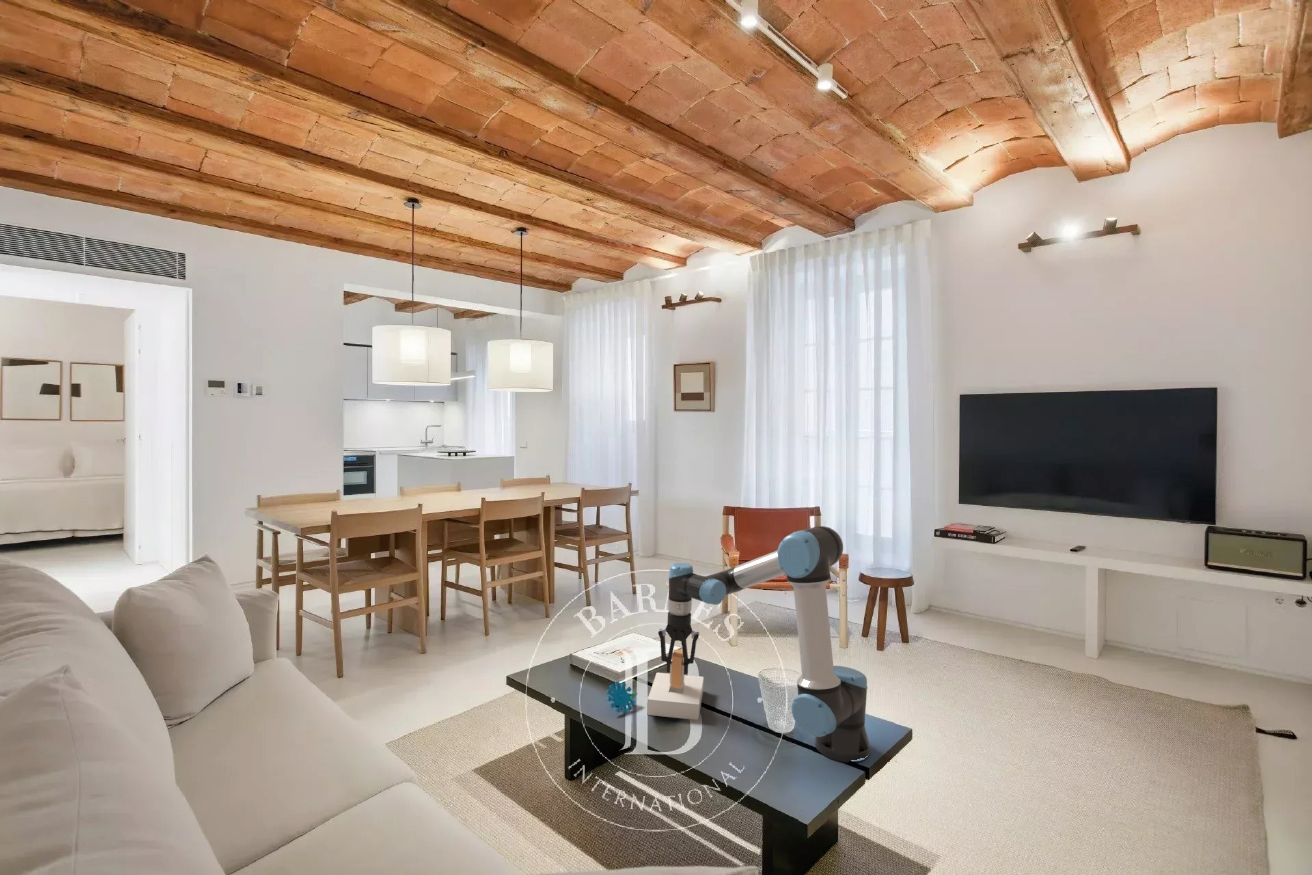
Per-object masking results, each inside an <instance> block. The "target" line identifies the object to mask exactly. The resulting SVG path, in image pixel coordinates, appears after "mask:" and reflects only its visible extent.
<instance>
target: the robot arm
mask: <svg viewBox="0 0 1312 875" xmlns="http://www.w3.org/2000/svg"><path fill="white" fill-rule="evenodd" d="M843 552H844V542H843V540H842V538H841V536H840V535H839V533H838V532H837V531H835V529H833V528H831V527H828V526H824V525H823V526H822V525H821V526H820V525H818V526H817V525H816V526H814V527H810V528H806V529H803V530H796V531H793V532H792V533H790V534H788V535H786V536H785V537H784V538H783V539H782V540H781V542H780V543H779V545H778V547H777V549H776V550H775V551H773V552H769V553H766V554H765V555H761V556H759V557H757V558H754V559H752V560H749V561H747V562H744V563H741V564H739V565H735V566H733V567H731V568H728V569H725V570H722V571H720V572H716V573H713V574H712V573H711V574H709V575H701V574H697V573H694V567H693V565H691V564H689V563H687V562H676V563H672V564H671V565H670V567H669V573H668V597H667V598H668V599H667V600H668V602H667V610H668V612H667V623H666V627H665V628H660V629H659V630H658V632H657V634H658V636H659V639H660V641H659V642H660V656H661V660H660V661H662V662H665V663H666V673H668V674H670V684H671V678H672V656H673V653H674V650H675V649H674V648H675V642H678V641H679V642H680V644H681V648H682V649H681V650H683V663H682V674H681V685H683V684H684V675H688V674H689V665H692V664H694V661H695V656H696V655H695V654H696V649H697V648H696V646H697V642H698V639H699V636H700V632H699V631H694V630H693V628H692V622H691V621H692V613H691V612H692V605H693V604H692V602H693V599H694V600H696V601H700V602H703V603H704V604H707V605H716V606H717V605H720V604H721V603H722V601H725V600H724V599H725V597H726V596H728V595H731V594H734V593H735V594H736V593H738V592H741V591H742V590H745V589H748V588H751V587H754V586H757V585H759V584H762V583H765V582H768V581H771V580H772V579H776V578H779V577H781V576H785V575H786V581H787V583H788V584H790V586H792V587H793V595H794V596H793V597H794V606H795V616H796V627H797V628H796V629H797V639H798V646H799V647H798V648H799V658H800V667H801V675H800V676H799V677H798V678H797V680H796V686H797V688H796V689H797V695H796V696H795V697H794V699H793V700H792V702H791V715H792V717H793V719H794V722H795V723H796V725H797V727H800V728H801V730H802V731H803V732H804V733H806V734H807V735H809V736H811V737H815V739H814V741H815V742H814V745H815V746H814V747H815V748H816V749H817V751H818V752H819V753H820V754H821V755H823V756H825V757H827V758H828V759H831V760H833V761H837V762H842V763H848V762H849V761H851V760H857V759H860V758H865V757H866V756H868V754H869V752H870V750H871V746H870V740H869V737H868V736H869V735H868V734H867V730H866V727H865V726H866V725H865V724H866V722H865V721H866V712H867V711H866V710H867V708H866V707H867V694H868V678H867V676H866V674H864V673H863V672H862V671H860V670H857V669H854V668H851V667H848V666H843V665H834V661H833V648H832V639H831V629H830V617H829V608H828V607H829V606H828V598H827V584H828V583H829V582H831V567H832V566H834V565H835V564H837V563H838V562H839V560H841V558H842V555H843ZM666 635H668V636H669V637H670V644H669V648H668V655H667V648H666ZM690 635H691V639H692V641H691V649H690V658H689V654H688V653H689V652H688V644H687V639H688V638H689V636H690ZM869 755H870V754H869Z"/></svg>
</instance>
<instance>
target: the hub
mask: <svg viewBox="0 0 1312 875" xmlns="http://www.w3.org/2000/svg"><path fill="white" fill-rule="evenodd" d="M704 678H705V676H700V675H699V676H698V675H689V674H684V684H683V685H681V688H675V687H671V684H670V673H667V672H656V674H655V676H654V680H653V682H652V686H651V689H650V692H649V694H648V697H647V703H646V704H647V705H646V706H647V708H646V710H647V711H646V715H647V716H655V717H656V716H657V717H667V718H673V719H685V720H693V721H699V718H700V713H701V706H702V700H703V693H704V681H705V680H704Z"/></svg>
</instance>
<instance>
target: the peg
mask: <svg viewBox="0 0 1312 875" xmlns="http://www.w3.org/2000/svg"><path fill="white" fill-rule="evenodd" d="M671 661H672V678H671V687H675V688H681V674H682V663H683V662H684V659H683V650H682V649H673V654H672V659H671Z"/></svg>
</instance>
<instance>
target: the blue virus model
mask: <svg viewBox="0 0 1312 875" xmlns="http://www.w3.org/2000/svg"><path fill="white" fill-rule="evenodd" d="M619 685H620V687H619ZM626 686H627V684H626V682H624V681H623V682H622V683H620V682H619V681H615V682H614V683H611V684H610V685H609V688H608V689H607V690H606V694H607V695H609V696H607V698H606V700H607V702H611V703H610V707H611V709H614V708H615V706H618V707H617V708H616V709H615V712H617V713H618V714H619V713H620V712H621V711H622V713H623V714H627V713H628V711H632V710H633V709H634V707H633V706H634V705H635V704H636V700H634V698H635V697H636V696H637V695H638V693H637V691H634V692H633V693H630V692H631V691H632V688H631V686H628V687H627V688H625V687H626ZM624 688H625V689H624ZM622 708H623V710H622Z"/></svg>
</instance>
